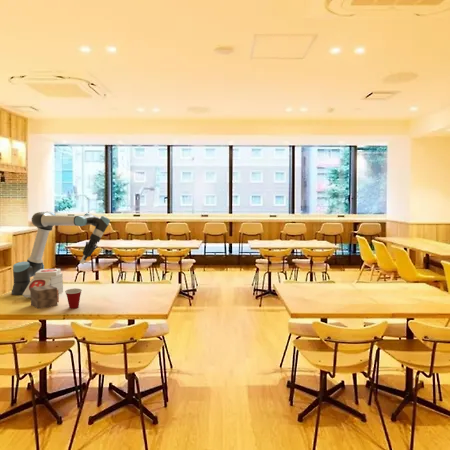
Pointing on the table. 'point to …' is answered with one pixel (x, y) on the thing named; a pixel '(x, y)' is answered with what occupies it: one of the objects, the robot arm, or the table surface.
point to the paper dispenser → (45, 280)
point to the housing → (43, 296)
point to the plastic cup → (73, 297)
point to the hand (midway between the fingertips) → (81, 263)
